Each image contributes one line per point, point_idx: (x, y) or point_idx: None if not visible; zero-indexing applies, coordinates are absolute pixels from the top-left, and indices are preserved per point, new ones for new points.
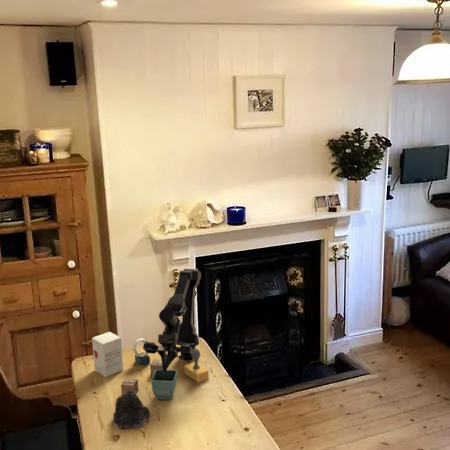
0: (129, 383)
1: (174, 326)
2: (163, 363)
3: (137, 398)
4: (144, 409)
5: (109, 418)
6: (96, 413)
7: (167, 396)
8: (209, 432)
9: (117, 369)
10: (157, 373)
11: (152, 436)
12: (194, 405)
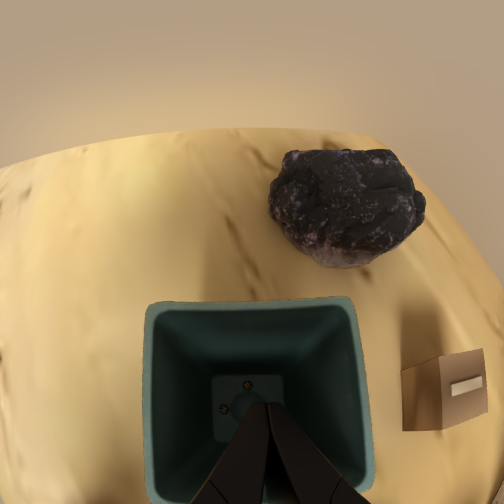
0: (460, 370)
1: None
2: (299, 458)
3: (354, 210)
4: (285, 157)
5: None
6: (449, 244)
7: (221, 357)
8: (69, 181)
9: (501, 499)
10: (345, 476)
11: (231, 151)
12: (89, 326)
